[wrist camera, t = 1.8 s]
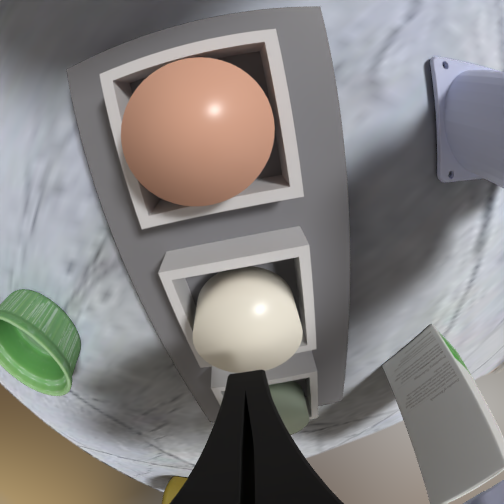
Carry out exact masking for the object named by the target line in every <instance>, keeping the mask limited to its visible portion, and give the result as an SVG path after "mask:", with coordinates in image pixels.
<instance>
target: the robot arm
mask: <svg viewBox="0 0 504 504" xmlns="http://www.w3.org/2000/svg"><path fill="white" fill-rule="evenodd" d="M442 63H444V65H445V68H444V67H443V65H442ZM430 66H431V73H432V81H433V89H434V99H435V110H436V126H437V177H438V179H439V180H440V181H442V182H444V183H446V182H455V181H464V180H474V179H486V180H488V181H490V182H492V183H494V184H496V185H498V186H500V187H502V188H504V72H503V71H497V70H494V69H490V68H487V67H483V66H479V65H476V64H471V63H467V62H463V61H458V60H454V59H449V58H443V57H432V58H431V60H430ZM449 172H450V176H448V175H449ZM170 504H344V503H343V502H341V500H339V499H338V497H337V496H336V495H335V494H334V493H333V492H332V491H331V490H330V489H329V488H328V487H327V485H326V484H325V483H324V482H323V481H322V479H321V478H320V477H319V476H318V474H317V473H316V472H315V471H314V469H313V468H312V467H311V466H310V464H309V463H308V461H307V460H306V459H305V457H304V456H303V454H302V453H301V451H300V450H299V448H298V447H297V445H296V444H295V442H294V440H293V439H292V437H291V435H290V434H289V432H288V430H287V428H286V427H285V425H284V423H283V421H282V419H281V417H280V415H279V413H278V410H277V408H276V406H275V404H274V401H273V399H272V396H271V392H270V388H269V384H268V380H267V377H266V373H265V371H264V370H262V369H261V370H255V371H248V372H242V373H234V374H230V375H229V376H228V378H227V383H226V388H225V392H224V396H223V399H222V403H221V406H220V409H219V412H218V415H217V418H216V421H215V424H214V426H213V429H212V431H211V434H210V436H209V438H208V441H207V443H206V445H205V447H204V450H203V452H202V454H201V456H200V458H199V460H198V461H197V463H196V465H195V467H194V469H193V470H192V472H191V474H190V475H189V477H188V479H187V480H186V482H185V483H184V485H183V486H182V488H181V489H180V490H179V492H178V493H177V494H176V496H175V497H174V498H173V500H172V501H171V502H170ZM463 504H504V480H502V481H501V482H499V483H497V484H496V485H494V486H493V487H491V488H490V489H488V490H486V491H483V492H482V493H480V494H478V495H476V496H475V497H473V498H472V499H470V500H468V501H466V502H465V503H463Z"/></svg>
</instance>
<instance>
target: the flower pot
mask: <svg viewBox="0 0 504 504" xmlns="http://www.w3.org/2000/svg"><path fill="white" fill-rule="evenodd" d="M187 479H188V478H184V477H178V476H173V477H172V479H171V480H170V481H169V483H168V484H167V486H166V489H165V491H164V495H163V500H162V504H170V502H171V501H172V500H173V498H174V497H175V496H176V494H177V493H178V492H179V490H180V489H181V488H182V486H183V485H184V483H185V482H186V480H187Z"/></svg>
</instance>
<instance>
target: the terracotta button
mask: <svg viewBox="0 0 504 504" xmlns="http://www.w3.org/2000/svg"><path fill="white" fill-rule="evenodd" d="M274 132H275V126H274V117H273V113H272V109H271V106H270V103H269V101H268V98H267V97H266V95H265V93H264V92H263V90H262V88H261V87H260V86H259V85H258V83H257V82H256V81H255V80H254V79H253V78H252V77H251V76H250V75H249V74H247V73H246V72H244V71H243V70H242V69H240V68H238V67H236V66H234V65H233V64H231V63H228V62H225V61H222V60H218V59H213V58H203V57H197V58H187V59H182V60H178V61H175V62H172V63H169V64H167V65H165V66H163V67H161V68H159V69H158V70H156V71H155V72H153V73H152V74H150V75H149V76H148V77H147V78H146V79H145V80H144V81H143V82H142V83H141V84H140V85H139V86H138V87H137V89H136V90H135V91H134V93H133V94H132V96H131V98H130V100H129V102H128V104H127V106H126V109H125V112H124V115H123V119H122V124H121V144H122V149H123V153H124V156H125V159H126V162H127V164H128V166H129V168H130V170H131V172H132V173H133V174H134V176H135V177H136V179H137V180H138V181H139V182H140V183H141V184H142V185H143V186H144V187H145V188H146V189H147V190H148V191H150V192H151V193H153V194H154V195H156V196H157V197H159V198H161V199H163V200H166V201H168V202H171V203H174V204H179V205H183V206H207V205H213V204H217V203H220V202H223V201H226V200H228V199H230V198H232V197H234V196H236V195H238V194H239V193H241V192H242V191H243V190H245V189H246V188H247V187H248V186H249V185H251V184H252V183H253V182H254V181H255V179H256V178H257V177H258V176H259V175H260V173H261V172H262V170H263V169H264V167H265V165H266V163H267V161H268V159H269V157H270V154H271V151H272V147H273V142H274Z"/></svg>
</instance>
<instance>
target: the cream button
mask: <svg viewBox="0 0 504 504" xmlns="http://www.w3.org/2000/svg"><path fill="white" fill-rule="evenodd" d="M302 336H303V331H302V325H301V322H300V318H299V315H298V311H297V308H296V304H295V300H294V297H293V294H292V291H291V289H290V287H289V285H288V284H287V283H286V282H285V280H284V279H282V278H281V277H280V276H279V275H277V274H276V273H274V272H272V271H270V270H267V269H264V268H260V267H254V266H248V267H242V268H237V269H231V270H226V271H222V272H220V273H218V274H216V275H214V276H213V277H212V278H210V279H209V280H208V281H207V282H206V283H205V285H204V286H203V287H202V289H201V291H200V293H199V296H198V300H197V307H196V313H195V320H194V328H193V344H194V346H195V349H196V351H197V352H198V354H199V355H200V356H201V357H202V358H203V359H204V360H205V361H206V362H208V363H209V364H211V365H212V366H214V367H216V368H219V369H221V370H224V371H228V372H233V373H242V372H248V371H255V370H261V369H262V370H264V371H266V370H270V369H272V368H275V367H277V366H279V365H281V364H283V363H284V362H286V361H287V360H288V359H289V358H291V357H292V356H293V355H294V353H295V352H296V351H297V349H298V348H299V346H300V344H301V341H302Z"/></svg>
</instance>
